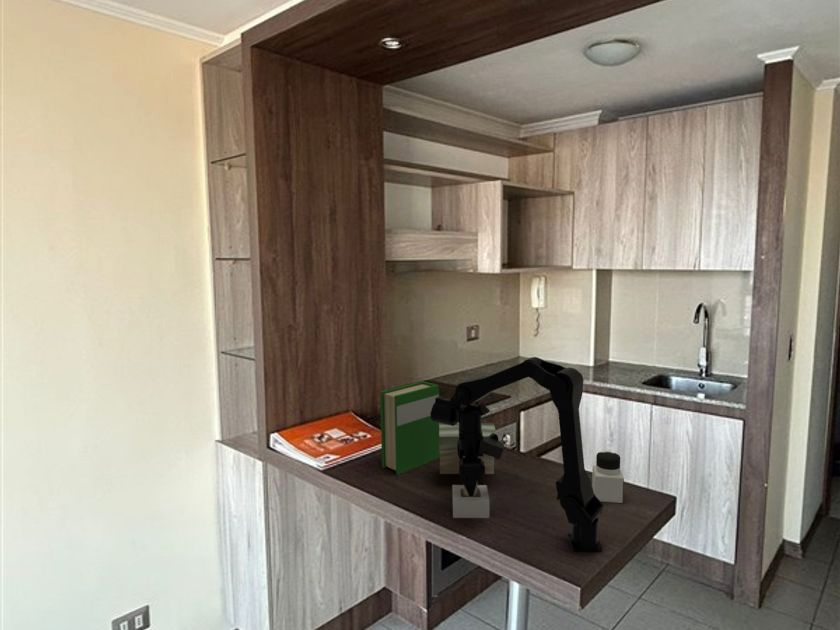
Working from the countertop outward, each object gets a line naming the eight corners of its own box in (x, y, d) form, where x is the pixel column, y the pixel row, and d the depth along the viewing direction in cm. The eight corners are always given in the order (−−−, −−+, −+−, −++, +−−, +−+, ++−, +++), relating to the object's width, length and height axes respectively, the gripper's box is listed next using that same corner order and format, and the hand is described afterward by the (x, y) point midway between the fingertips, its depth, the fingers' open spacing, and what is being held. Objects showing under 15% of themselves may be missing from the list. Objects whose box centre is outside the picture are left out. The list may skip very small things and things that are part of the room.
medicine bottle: (623, 503, 144) (624, 459, 142) (594, 501, 145) (595, 457, 144) (618, 491, 151) (620, 449, 149) (591, 489, 152) (593, 448, 151)
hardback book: (398, 475, 163) (396, 396, 160) (381, 467, 169) (380, 391, 166) (439, 458, 176) (438, 385, 172) (423, 452, 181) (422, 381, 178)
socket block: (489, 518, 137) (489, 501, 136) (453, 517, 137) (453, 500, 137) (486, 501, 146) (486, 485, 145) (452, 501, 146) (452, 484, 146)
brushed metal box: (497, 489, 153) (497, 437, 151) (439, 488, 154) (439, 436, 152) (493, 471, 165) (493, 423, 163) (439, 471, 166) (439, 422, 164)
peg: (477, 512, 140) (477, 478, 139) (463, 512, 140) (463, 478, 139) (476, 506, 143) (476, 473, 142) (463, 506, 143) (463, 473, 142)
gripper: (506, 442, 129) (506, 505, 131) (498, 417, 148) (498, 472, 150) (459, 442, 130) (459, 504, 132) (457, 417, 148) (457, 472, 150)
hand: (470, 487), depth 141 cm, fingers open, 9 cm apart
